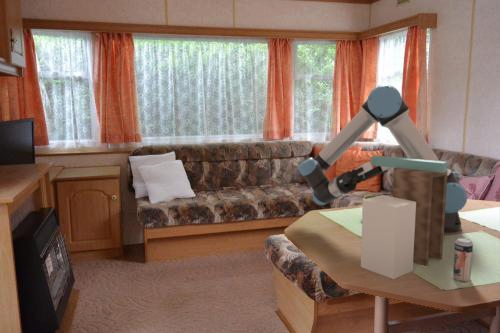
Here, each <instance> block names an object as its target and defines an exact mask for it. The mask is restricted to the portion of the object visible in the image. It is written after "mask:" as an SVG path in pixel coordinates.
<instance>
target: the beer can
mask: <svg viewBox="0 0 500 333" xmlns="http://www.w3.org/2000/svg"><path fill="white" fill-rule="evenodd" d="M473 247H474V243H473V241H472V239H469V238H465V237H458V238H457V239H456V240H455V241H454V255H453V271H452V277H453V279H455V280H456V281H459V282H469V281H470V280H471V273H472V260H473V250H474V249H473Z"/></svg>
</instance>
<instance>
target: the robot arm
mask: <svg viewBox="0 0 500 333" xmlns="http://www.w3.org/2000/svg"><path fill="white" fill-rule="evenodd" d="M367 96H368V97H367V99H366V101H364V103H362V105H361V106H360V110H359V111H358V112H357V113H356V115H354V117H353V118H352V119H351V120H350V121H349V122H348V123H347V124H345V126H344V127H343V128H342V129H341V130H340V131H339V132H338V133H337V134H336V135H335V136H334V137H333V138H332V139H331V140H330V141H329V142H328V143H327V145H325V146H324V147H323V149H321V151H320V152H318V154H316V156H314V158H313V157H309V158H306V160H305V161H303V162H302V163H301V164H299V165H298V168H297V169H298V171H299V172H300V174H301V175H302V177H303V178H304V179H305V181H306V182H307V184H308V185H309V187H310V188H311V190H312V192H311V197H312V201H313V202H314V203H315V204H316V205H319V206H324V205H326V204H331V202H333V201H335V200H337V199H339V198H341V199H342V198H344V195H347V194H349V193H351V192H354V191H355V190H356V188H357V185H358V184H359V183H362V182H364V181H366V180H369V179H371V178H374V177H376V176H379V175H380V174H383V173H386V172H387V170H389V169H391V168H392V167H382V166H375V167H374V166H373V165H371V160H370V161H367V162H365V163H363V164H362V165H360V166H358V167H356V168H355V169H352V170H348V171H346V172H343V173H341V174H339V175H337V176H335V177H334V178H332V179H331V180H329V178H328V177H327V175H326V174H325V173H326V172H327V171H328V170H329V169H330V168H331V167H332V166H333V165H334V163H336V162H337V161H338V159H339V158H340V157H342V156H343V155H344V154H345V152H347V150H349V149H350V148H351V147H352V146H353V145H354V143H356V142H357V140H359V139H360V138H361V137H362V136H363V134H365V133H366V132H367V131H368V130H369V129H370V128H371V127H372V126H373V125H374V124H376V123H379V124H380V126H381V127H383V128H387V129H388V130H389V132H390V133H391V135H392V136H393V137H394V139H395V140H396V142H397V144H398V145H399V146H400V148H401V149H402V150H403V153H404V154H405V155H406V158H410V159H421V160H432V161H440V160H439V158H438V157H437V155H436V154H435V152H434V151H433V149H432V147H430V144H429V143H428V142H427V141H426V139H425V137H424V136H423V134H422V133H421V132H420V130H419V128H418V127H417V125H416V124H415V123H414V120H412V118H411V117H410V115H409V112H410V108H409V106H408V104H407V103H406V102H405V101H404V98H403V97H402V95H401V93H400V91H399V90H398V89H397V88H396V87H394V86H393V85H390V84H381V85H380V84H379V85H378V86H376V87H374V88H373V89H372V90H371V91H370V92H369V94H368V95H367ZM447 170H448V172H447V189H446V205H445V221H444V233H454V232H459V231H461V230H462V222H461V218H460V214H459V211H462V209H463V208H464V207H465V206H466V204H467V201H468V193H467V192H468V191H467V190H466V189H465V187H463V186H462V183H460V180H461V177H460V173H459V172H457V171H452V169H449V168H447Z"/></svg>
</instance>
